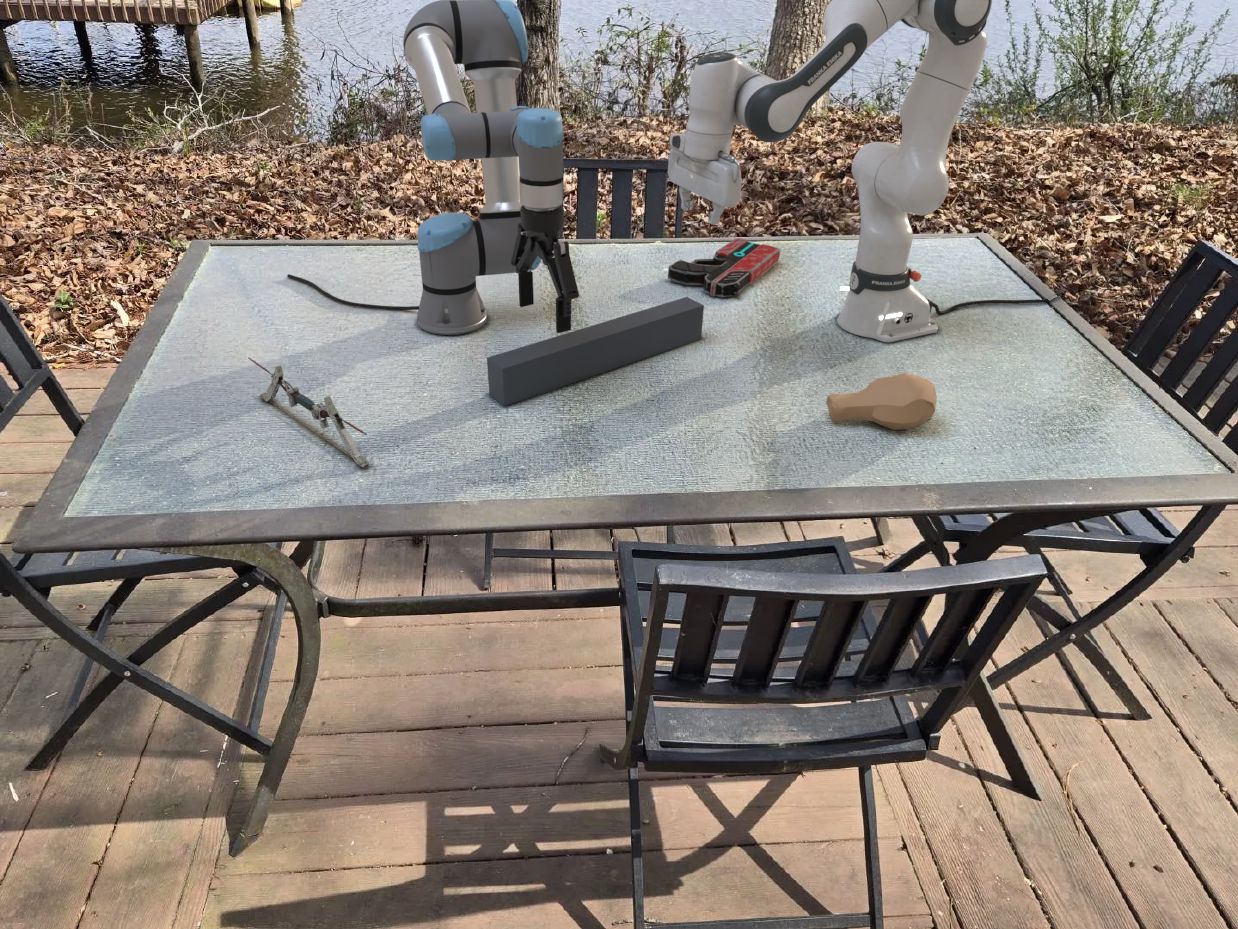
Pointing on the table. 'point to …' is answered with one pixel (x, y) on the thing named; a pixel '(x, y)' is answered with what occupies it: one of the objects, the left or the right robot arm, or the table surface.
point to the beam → (592, 350)
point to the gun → (727, 268)
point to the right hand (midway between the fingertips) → (699, 216)
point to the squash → (888, 402)
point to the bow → (313, 411)
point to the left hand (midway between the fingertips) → (544, 317)
